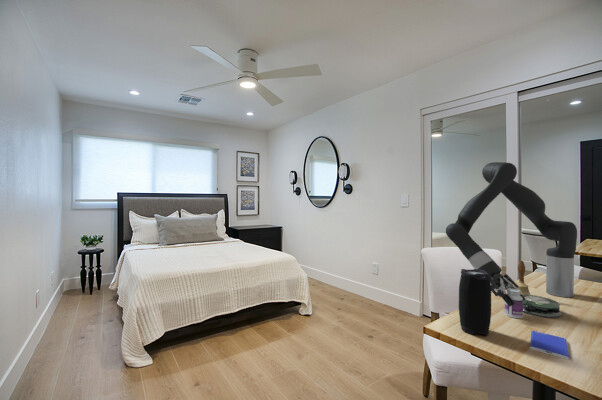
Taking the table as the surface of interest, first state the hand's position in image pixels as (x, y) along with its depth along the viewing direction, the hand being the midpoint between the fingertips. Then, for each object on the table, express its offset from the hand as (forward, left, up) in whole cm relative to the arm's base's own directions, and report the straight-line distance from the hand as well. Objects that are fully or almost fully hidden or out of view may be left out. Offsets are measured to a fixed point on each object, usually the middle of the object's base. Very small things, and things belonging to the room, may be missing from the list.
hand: (518, 302), depth 102 cm
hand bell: (-28, +4, -5) cm, 28 cm away
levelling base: (-12, +7, -5) cm, 14 cm away
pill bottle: (-1, -1, -5) cm, 6 cm away
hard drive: (+20, +5, -6) cm, 21 cm away
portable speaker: (+21, -13, -5) cm, 26 cm away
